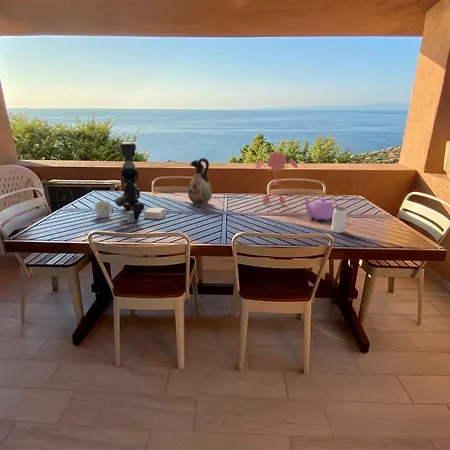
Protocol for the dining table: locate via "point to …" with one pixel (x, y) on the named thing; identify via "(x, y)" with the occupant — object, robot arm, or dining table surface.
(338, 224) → the can
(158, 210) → the plinth
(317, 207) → the teapot
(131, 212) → the cube
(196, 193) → the ceramic jug
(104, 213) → the cup
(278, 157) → the pink artificial flower
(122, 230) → the dining table surface
